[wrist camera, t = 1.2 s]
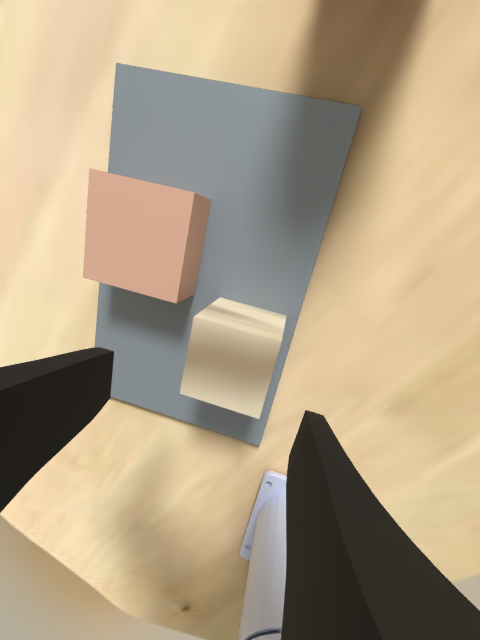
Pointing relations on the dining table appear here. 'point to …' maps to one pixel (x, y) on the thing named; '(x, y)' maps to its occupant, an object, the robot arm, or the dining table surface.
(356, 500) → the robot arm
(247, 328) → the maple block
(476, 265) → the dining table surface
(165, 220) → the base block
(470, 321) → the dining table surface
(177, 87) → the blue-grey rectangular mat
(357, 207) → the dining table surface
